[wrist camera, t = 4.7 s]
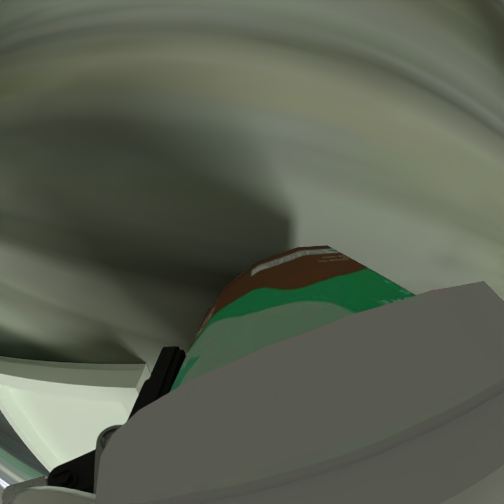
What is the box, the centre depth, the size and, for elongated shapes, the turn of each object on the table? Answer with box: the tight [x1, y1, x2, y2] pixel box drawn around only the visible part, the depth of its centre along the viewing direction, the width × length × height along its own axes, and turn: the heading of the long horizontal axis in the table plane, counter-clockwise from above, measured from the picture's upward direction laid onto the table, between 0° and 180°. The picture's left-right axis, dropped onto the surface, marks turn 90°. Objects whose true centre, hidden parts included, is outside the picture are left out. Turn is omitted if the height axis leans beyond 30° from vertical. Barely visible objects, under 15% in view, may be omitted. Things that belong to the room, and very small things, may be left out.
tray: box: [0, 356, 151, 472], centre depth 15 cm, size 14×18×2 cm
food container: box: [95, 246, 504, 504], centre depth 7 cm, size 12×6×10 cm, turn 179°
